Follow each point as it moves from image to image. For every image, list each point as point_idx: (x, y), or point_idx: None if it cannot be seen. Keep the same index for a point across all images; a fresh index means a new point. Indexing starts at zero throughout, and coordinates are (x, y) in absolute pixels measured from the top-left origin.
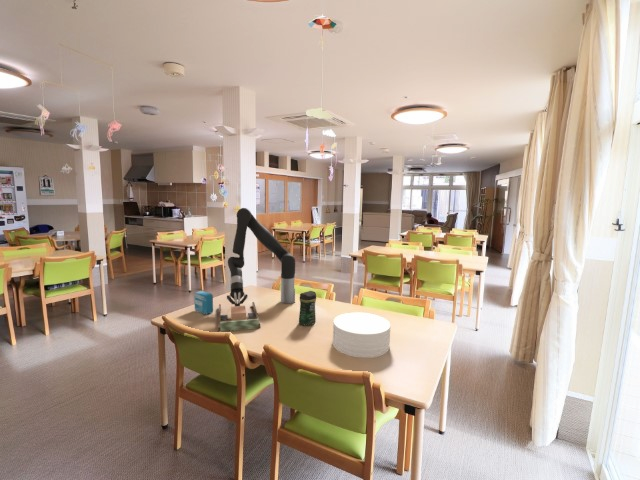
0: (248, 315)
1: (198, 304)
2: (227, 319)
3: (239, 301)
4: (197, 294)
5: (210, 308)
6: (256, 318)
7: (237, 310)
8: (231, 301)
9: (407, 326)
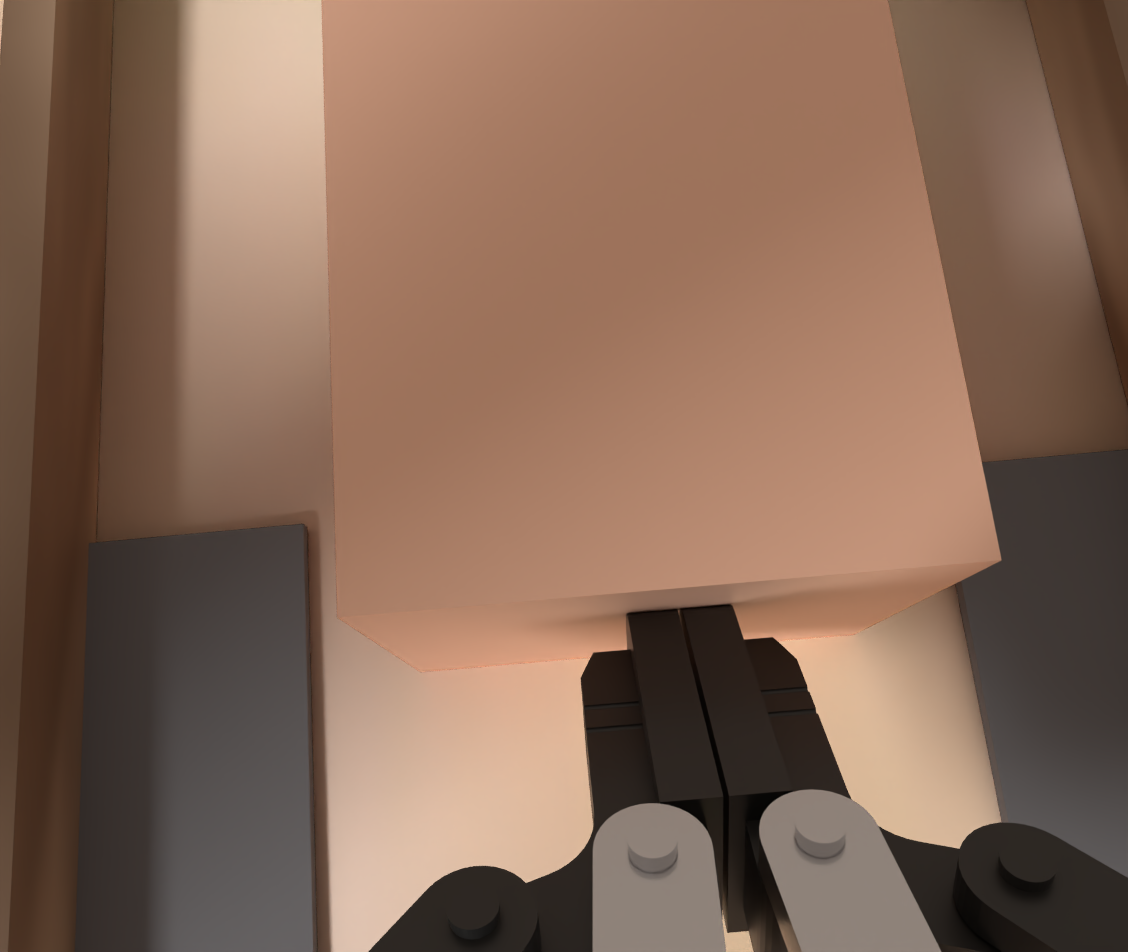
0: (302, 723)
1: None
2: None
3: (623, 898)
4: None
5: None
6: (71, 265)
7: (653, 54)
8: (1122, 884)
9: None
